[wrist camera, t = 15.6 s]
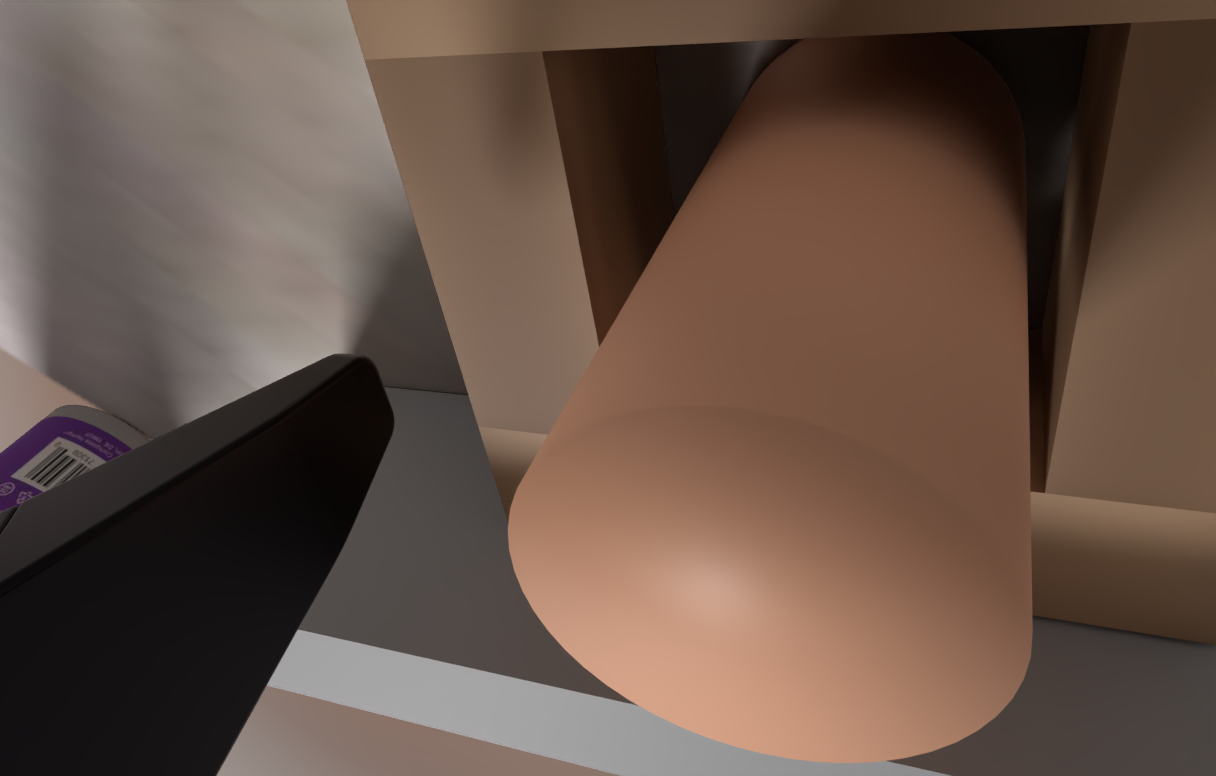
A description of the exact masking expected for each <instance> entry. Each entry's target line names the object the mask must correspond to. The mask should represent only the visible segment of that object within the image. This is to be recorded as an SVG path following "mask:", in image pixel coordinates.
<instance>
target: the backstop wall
mask: <svg viewBox="0 0 1216 776" xmlns="http://www.w3.org/2000/svg"><path fill="white" fill-rule="evenodd" d="M384 388H385V391H386V393H387V396H388V399H389V401H390V404H391V406H392V409H393V412H394V418H395V424H394V431H393V434H392V437H391V440H390V442H389V444H388V447H387V449H386V451H385V453H384V456H383V458H382V460H381V463H380V465H379V467H378V470H377V472H376V474H375V477H374V479H373V481H372V484H371V486H370V488H369V491H368V493H367V495H366V498H365V500H364V502H363V504H362V507H361V509H360V511H359V514H358V516H357V518H356V521H355V523H354V525H353V528H352V530H351V532H350V534H349V536H348V538H347V541H346V543H345V545H344V547H343V549H342V551H341V553H340V555H339V557H338V558H337V560H336V562H335V564H334V566H333V568H332V570H331V571H330V573H329V575H328V577H327V579H326V580H325V582H324V584H323V586H322V588H321V589H320V591H319V593H318V595H317V596H316V598H315V600H314V602H313V604H312V605H311V607H310V609H309V611H308V613H307V614H306V616H305V618H304V620H303V622H302V623H301V625H300V627H299V629H298V631H297V632H296V634H295V636H294V638H293V640H292V641H291V643H290V645H289V647H288V649H287V650H286V652H285V654H284V656H283V657H282V659H281V661H280V663H279V665H278V666H277V668H276V670H275V672H274V674H273V675H272V677H271V679H270V681H269V683H268V684H267V686H271V687H275V688H279V689H283V690H287V691H291V692H295V693H299V694H303V695H307V696H310V697H314V698H318V699H323V700H326V701H330V702H334V703H338V704H342V705H346V706H350V707H354V708H357V709H361V710H366V711H369V712H374V713H377V714H381V715H386V716H389V717H393V718H397V719H401V720H405V721H409V722H412V723H416V724H420V725H424V726H428V727H432V728H436V729H440V730H444V731H448V732H452V733H456V734H459V735H464V736H467V737H471V738H475V739H479V740H483V741H487V742H491V743H495V744H499V745H503V746H507V747H510V748H514V749H518V750H523V751H526V752H530V753H534V754H538V755H542V756H546V757H550V758H554V759H558V760H561V761H565V762H570V763H573V764H577V765H581V766H585V767H589V768H593V769H597V770H601V771H605V772H608V773H612V774H617V775H620V776H1216V645H1213V644H1207V643H1201V642H1195V641H1189V640H1182V639H1176V638H1170V637H1164V636H1158V635H1152V634H1145V633H1139V632H1133V631H1127V630H1121V629H1114V628H1108V627H1102V626H1096V625H1090V624H1084V623H1077V622H1071V621H1065V620H1059V619H1053V618H1047V617H1040V616H1034V615H1032V624H1033V634H1032V648H1031V658H1030V661H1029V665H1028V668H1027V671H1026V674H1025V677H1024V680H1023V682H1022V683H1021V685H1020V687H1019V689H1018V690H1017V692H1016V694H1015V695H1014V697H1013V699H1012V700H1011V701H1010V702H1009V703H1008V704H1007V705H1006V707H1005V708H1004V709H1003V710H1002V711H1001V712H1000V713H999V714H998V715H997V716H996V717H995V718H994V719H992V720H991V721H990V722H989V723H987V724H986V725H985V726H983V727H982V728H981V729H979V730H978V731H976V732H975V733H973V734H971V735H969V736H967V737H965V738H963V739H961V740H960V741H958V742H956V743H953V744H951V745H948V746H945V747H943V748H940V749H937V750H934V751H932V752H928V753H924V754H920V755H916V756H912V757H907V758H902V759H895V760H888V761H880V762H865V763H829V762H814V761H805V760H796V759H789V758H783V757H778V756H773V755H767V754H762V753H758V752H754V751H750V750H746V749H742V748H739V747H735V746H731V745H728V744H725V743H722V742H719V741H716V740H713V739H710V738H707V737H704V736H702V735H699V734H697V733H694V732H692V731H689V730H687V729H685V728H682V727H680V726H677V725H675V724H673V723H671V722H669V721H667V720H665V719H663V718H661V717H659V716H657V715H655V714H653V713H651V712H649V711H647V710H646V709H644V708H642V707H640V706H639V705H637V704H635V703H633V702H632V701H630V700H628V699H627V698H625V697H624V696H622V695H621V694H619V693H618V692H616V691H615V690H613V689H612V688H610V687H609V686H607V685H606V684H604V683H603V682H602V681H601V680H599V679H598V678H597V677H596V676H594V675H593V674H592V673H590V672H589V671H588V670H587V669H585V668H584V667H583V666H582V665H581V664H580V663H579V662H578V661H577V660H576V659H574V658H573V657H572V656H571V655H570V654H569V653H568V652H567V651H566V650H565V649H564V648H563V647H562V646H561V645H560V644H559V642H558V641H557V640H556V639H555V638H554V637H553V636H552V635H551V634H550V632H549V631H548V630H547V629H546V627H545V626H544V624H543V623H542V622H541V620H540V619H539V618H538V616H537V615H536V613H535V612H534V611H533V609H532V607H531V605H530V604H529V602H528V600H527V598H526V596H525V595H524V593H523V591H522V589H521V586H520V584H519V581H518V579H517V576H516V574H515V571H514V568H513V564H512V560H511V555H510V551H509V540H508V521H507V518H506V515H505V511H504V508H503V505H502V502H501V498H500V495H499V492H498V489H497V485H496V482H495V479H494V476H493V473H492V469H491V466H490V463H489V460H488V456H487V453H486V450H485V447H484V444H483V440H482V437H481V434H480V431H479V427H478V424H477V421H476V418H475V414H474V411H473V408H472V405H471V402H470V398H469V395H459V394H449V393H439V392H429V391H419V390H409V389H399V388H389V387H384Z"/></svg>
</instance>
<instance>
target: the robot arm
mask: <svg viewBox="0 0 1216 776" xmlns="http://www.w3.org/2000/svg"><path fill="white" fill-rule="evenodd" d="M394 424H395V418H394V412H393V409H392V406H391V404H390V401H389V399H388V396H387V393H386V391H385V388H384V385H383V383H382V380H381V378H380V375H379V372H378V370H377V367H376V365H375V364H374V363H373V361H372V360H371V359H370V358H368V357H366V356H363V355H351V354H333V355H330V356H328V357H326V358H324V359H322V360H320V361H317V362H315V363H313V364H311V365H309V366H307V367H305V368H303V369H301V370H299V371H296V372H294V373H292V374H290V375H288V376H286V377H284V378H282V379H280V380H278V381H275V382H273V383H271V384H269V385H267V386H265V387H263V388H261V389H259V390H257V391H254V392H252V393H250V394H248V395H246V396H244V397H242V398H240V399H238V400H236V401H233V402H231V403H229V404H227V405H225V406H223V407H221V408H219V409H217V410H215V411H212V412H210V413H208V414H206V415H204V416H202V417H200V418H198V419H196V420H194V421H192V422H189V423H187V424H185V425H183V426H181V427H179V428H177V429H175V430H173V431H171V432H168V433H166V434H164V435H162V436H160V437H158V438H156V439H154V440H152V441H150V442H147V443H145V444H143V445H141V446H139V447H137V448H135V449H133V450H131V451H129V452H126V453H124V454H122V455H120V456H118V457H116V458H114V459H112V460H110V461H108V462H105V463H103V464H101V465H99V466H97V467H95V468H93V469H91V470H89V471H87V472H84V473H82V474H80V475H78V476H76V477H74V478H72V479H70V480H68V481H66V482H63V483H61V484H59V485H57V486H55V487H53V488H51V489H49V490H47V491H45V492H42V493H40V494H38V495H36V496H34V497H32V498H30V499H28V500H26V501H24V502H22V503H21V505H20V506H19V507H18V506H13V507H11V508H8V509H6V510H4V511H2V512H0V776H217V774H218V772H219V770H220V769H221V767H222V765H223V763H224V761H225V760H226V758H227V756H228V754H229V752H230V751H231V749H232V747H233V745H234V744H235V742H236V740H237V738H238V736H239V734H240V733H241V731H242V729H243V727H244V726H245V724H246V722H247V720H248V718H249V717H250V715H251V713H252V711H253V709H254V708H255V706H256V704H257V702H258V701H259V699H260V697H261V695H262V693H263V691H264V690H265V688H266V686H267V684H268V683H269V681H270V679H271V677H272V675H273V674H274V672H275V670H276V668H277V666H278V665H279V663H280V661H281V659H282V657H283V656H284V654H285V652H286V650H287V649H288V647H289V645H290V643H291V641H292V640H293V638H294V636H295V634H296V632H297V631H298V629H299V627H300V625H301V623H302V622H303V620H304V618H305V616H306V614H307V613H308V611H309V609H310V607H311V605H312V604H313V602H314V600H315V598H316V596H317V595H318V593H319V591H320V589H321V588H322V586H323V584H324V582H325V580H326V579H327V577H328V575H329V573H330V571H331V570H332V568H333V566H334V564H335V562H336V560H337V558H338V557H339V555H340V553H341V551H342V549H343V547H344V545H345V543H346V541H347V538H348V536H349V534H350V532H351V530H352V528H353V525H354V523H355V521H356V518H357V516H358V514H359V511H360V509H361V507H362V504H363V502H364V500H365V498H366V495H367V493H368V491H369V488H370V486H371V484H372V481H373V479H374V477H375V474H376V472H377V470H378V467H379V465H380V463H381V460H382V458H383V456H384V453H385V451H386V449H387V447H388V444H389V442H390V440H391V437H392V434H393V431H394Z"/></svg>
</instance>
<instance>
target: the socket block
mask: <svg viewBox="0 0 1216 776" xmlns="http://www.w3.org/2000/svg"><path fill="white" fill-rule="evenodd" d="M346 1H347V5H348V8H349V11H350V14H351V18H352V21H353V24H354V27H355V30H356V34H357V37H358V40H359V43H360V47H361V50H362V53H363V56H364V60H365V63H366V66H367V69H368V72H369V76H370V79H371V82H372V85H373V89H374V92H375V95H376V98H377V101H378V105H379V108H380V111H381V114H382V118H383V121H384V124H385V127H386V131H387V134H388V137H389V140H390V143H391V147H392V150H393V153H394V156H395V160H396V163H397V166H398V169H399V172H400V176H401V179H402V182H403V185H404V189H405V192H406V195H407V198H408V202H409V205H410V208H411V211H412V214H413V218H414V221H415V224H416V227H417V231H418V234H419V237H420V240H421V243H422V247H423V250H424V253H425V256H426V260H427V263H428V266H429V269H430V272H431V276H432V279H433V282H434V285H435V289H436V292H437V295H438V298H439V302H440V305H441V308H442V311H443V314H444V318H445V321H446V324H447V327H448V331H449V334H450V337H451V340H452V343H453V347H454V350H455V353H456V356H457V360H458V363H459V366H460V369H461V373H462V376H463V379H464V382H465V385H466V389H467V392H468V395H469V398H470V402H471V405H472V408H473V411H474V414H475V418H476V421H477V424H478V427H479V431H480V434H481V437H482V440H483V444H484V447H485V450H486V453H487V456H488V460H489V463H490V466H491V469H492V473H493V476H494V479H495V482H496V485H497V489H498V492H499V495H500V498H501V502H502V505H503V508H504V511H505V515H506V518H507V521H508V522H509V514H510V508H511V505H512V502H513V499H514V496H515V493H516V490H517V488H518V486H519V484H520V482H521V481H522V479H523V477H524V476H525V474H526V472H527V470H528V469H529V467H530V465H531V464H532V462H533V460H534V458H535V457H536V455H537V453H538V452H539V450H540V448H541V446H542V445H543V443H544V441H545V440H546V438H547V436H548V434H549V433H550V431H551V429H552V428H553V426H554V424H555V422H556V421H557V419H558V417H559V416H560V414H561V412H562V410H563V409H564V407H565V405H566V404H567V402H568V400H569V398H570V397H571V395H572V393H573V392H574V390H575V388H576V386H577V385H578V383H579V381H580V380H581V378H582V376H583V374H584V373H585V371H586V369H587V368H588V366H589V364H590V362H591V361H592V359H593V357H594V356H595V354H596V352H597V350H598V349H599V347H600V345H601V344H602V342H603V340H604V338H605V337H606V335H607V333H608V332H609V330H610V328H611V326H612V325H613V323H614V321H615V320H616V318H617V316H618V314H619V313H620V311H621V309H622V308H623V306H624V304H625V302H626V301H627V299H628V297H629V296H630V294H631V292H632V290H633V289H634V287H635V285H636V284H637V282H638V280H639V278H640V277H641V275H642V273H643V272H644V270H645V268H646V266H647V265H648V263H649V261H650V260H651V258H652V256H653V254H654V253H655V251H656V249H657V248H658V246H659V244H660V242H661V241H662V239H663V237H664V236H665V234H666V232H667V230H668V229H669V227H670V225H671V224H672V222H673V220H674V213H673V205H672V196H671V188H670V180H669V172H668V163H667V155H666V147H665V139H664V130H663V122H662V114H661V106H660V97H659V89H658V81H657V73H656V64H655V56H654V48H653V46H660V45H681V44H702V43H722V42H743V41H764V40H785V39H805V38H826V37H847V36H868V35H888V34H909V33H930V32H950V31H971V30H992V29H1013V28H1033V27H1054V26H1075V25H1090V29H1089V36H1088V42H1087V48H1086V55H1085V61H1084V67H1083V74H1082V80H1081V86H1080V93H1079V99H1078V105H1077V112H1076V118H1075V124H1074V131H1073V137H1072V143H1071V150H1070V156H1069V162H1068V169H1067V175H1066V181H1065V187H1064V194H1063V200H1062V206H1061V213H1060V219H1059V225H1058V232H1057V238H1056V244H1055V251H1054V257H1053V263H1052V270H1051V276H1050V282H1049V289H1048V295H1047V301H1046V308H1045V314H1044V320H1043V327H1042V330H1030V329H1028V357H1029V424H1030V491H1031V558H1032V615H1034V616H1040V617H1047V618H1053V619H1059V620H1065V621H1071V622H1077V623H1084V624H1090V625H1096V626H1102V627H1108V628H1114V629H1121V630H1127V631H1133V632H1139V633H1145V634H1152V635H1158V636H1164V637H1170V638H1176V639H1182V640H1189V641H1195V642H1201V643H1207V644H1213V645H1216V0H346Z"/></svg>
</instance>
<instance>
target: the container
mask: <svg viewBox="0 0 1216 776" xmlns="http://www.w3.org/2000/svg"><path fill="white" fill-rule="evenodd" d="M147 442H150V440H149V439H148V438H147V437H145V436H144V435H143V434H141V433H140V432H139V431H137V430H136V429H134V428H133V427H131V426H130V425H128V424H126V423H125V422H123V421H121V420H119V419H118V418H116V417H114V416H112V415H110V414H108V413H105V412H103V411H100V410H97V409H94V408H90V407H87V406H79V405H66V406H62V407H59V408H58V409H56V410H54V412H52V413H51V414H49V415H48V416H47V417H45V418H44V419H43V420H41V421H40V422H39V423H38V424H37V425H35V426H34V427H33V428H31V429H30V430H29V431H28V432H26V433H25V434H24V435H23V436H21V437H20V438H19V439H18V440H16V441H15V442H14V443H13V444H12V445H10V446H9V447H8V448H6V449H5V450H4V451H3V452H2V453H0V512H2V511H4V510H6V509H8V508H11V507H13V506H18V507H19V506H20V505H21V503H22V502H24V501H26V500H28V499H30V498H32V497H34V496H36V495H38V494H40V493H42V492H45V491H47V490H49V489H51V488H53V487H55V486H57V485H59V484H61V483H63V482H66V481H68V480H70V479H72V478H74V477H76V476H78V475H80V474H82V473H84V472H87V471H89V470H91V469H93V468H95V467H97V466H99V465H101V464H103V463H105V462H108V461H110V460H112V459H114V458H116V457H118V456H120V455H122V454H124V453H126V452H129V451H131V450H133V449H135V448H137V447H139V446H141V445H143V444H145V443H147Z"/></svg>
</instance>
